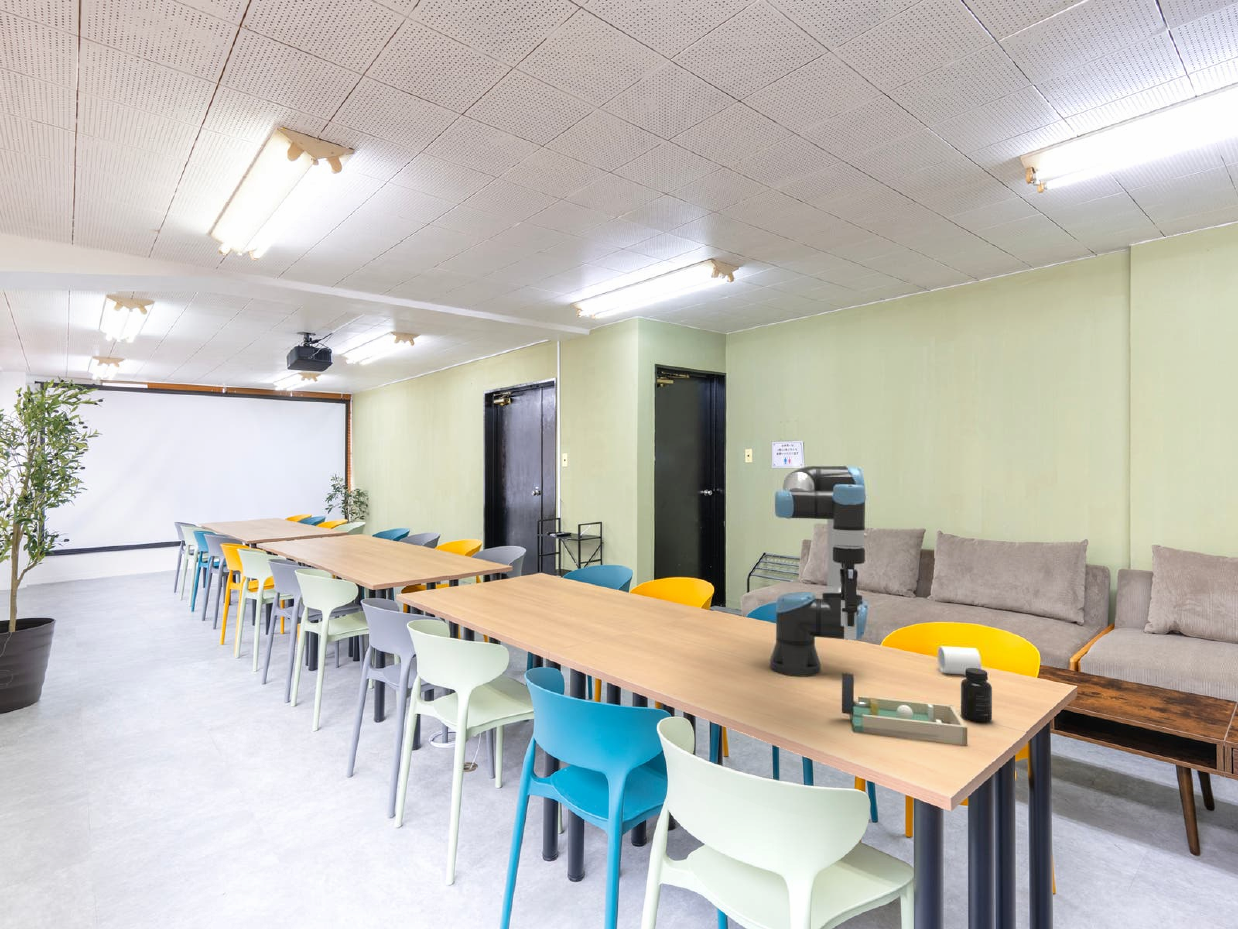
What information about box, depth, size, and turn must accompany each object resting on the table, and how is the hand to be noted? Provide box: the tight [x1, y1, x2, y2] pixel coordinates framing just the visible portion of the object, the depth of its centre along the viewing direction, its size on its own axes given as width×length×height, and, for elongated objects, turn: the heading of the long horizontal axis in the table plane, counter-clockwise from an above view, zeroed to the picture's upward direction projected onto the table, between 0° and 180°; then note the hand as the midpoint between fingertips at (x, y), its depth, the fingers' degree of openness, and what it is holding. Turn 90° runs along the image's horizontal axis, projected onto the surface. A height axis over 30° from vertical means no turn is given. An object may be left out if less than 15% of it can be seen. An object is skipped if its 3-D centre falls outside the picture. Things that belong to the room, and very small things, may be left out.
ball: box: [897, 705, 913, 720], centre depth 151 cm, size 4×4×4 cm
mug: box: [937, 645, 982, 676], centre depth 194 cm, size 12×10×8 cm
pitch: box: [850, 695, 968, 746], centre depth 151 cm, size 24×14×4 cm, turn 74°
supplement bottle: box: [960, 668, 993, 724], centre depth 157 cm, size 7×7×12 cm
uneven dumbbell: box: [841, 673, 878, 716], centre depth 154 cm, size 8×4×9 cm, turn 73°
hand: (848, 632), depth 155 cm, fingers open, 13 cm apart
